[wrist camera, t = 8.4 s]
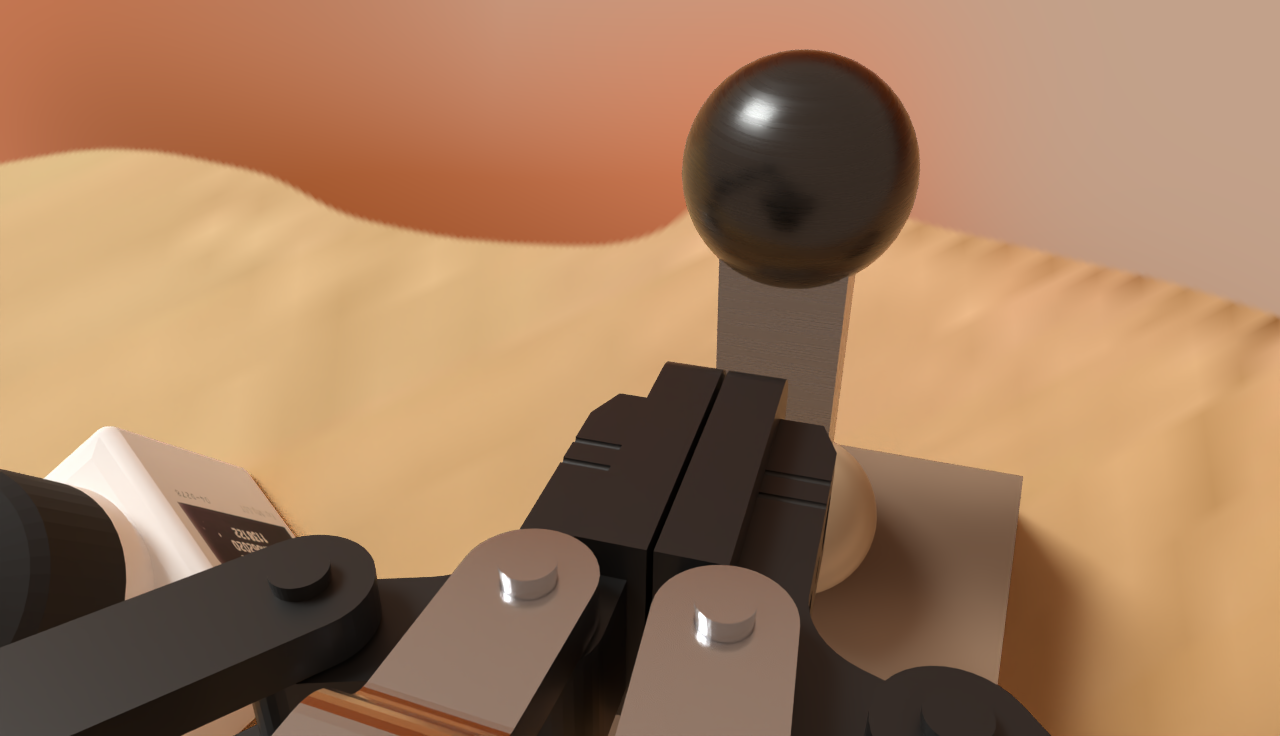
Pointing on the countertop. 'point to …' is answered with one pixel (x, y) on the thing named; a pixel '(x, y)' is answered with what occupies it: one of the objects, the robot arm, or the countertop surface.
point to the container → (123, 533)
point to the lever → (797, 211)
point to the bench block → (915, 564)
